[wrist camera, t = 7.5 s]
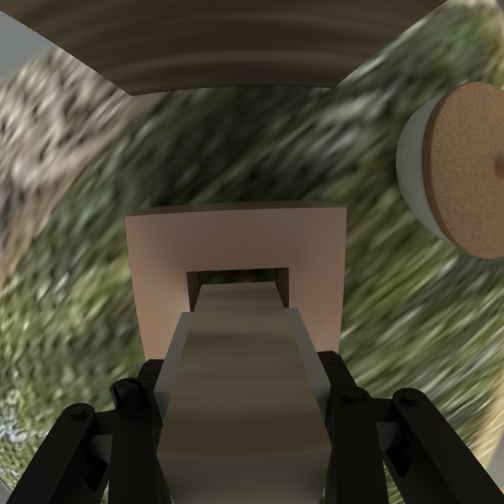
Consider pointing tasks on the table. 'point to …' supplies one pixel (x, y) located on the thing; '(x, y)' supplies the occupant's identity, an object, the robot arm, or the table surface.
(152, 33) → the capped wooden panel
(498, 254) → the lidded jar
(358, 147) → the table surface
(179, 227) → the socket block
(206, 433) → the peg
